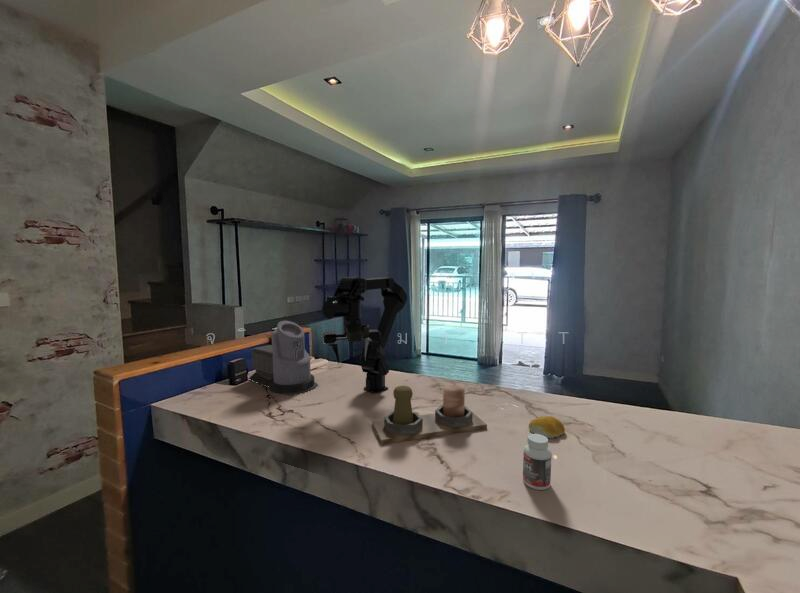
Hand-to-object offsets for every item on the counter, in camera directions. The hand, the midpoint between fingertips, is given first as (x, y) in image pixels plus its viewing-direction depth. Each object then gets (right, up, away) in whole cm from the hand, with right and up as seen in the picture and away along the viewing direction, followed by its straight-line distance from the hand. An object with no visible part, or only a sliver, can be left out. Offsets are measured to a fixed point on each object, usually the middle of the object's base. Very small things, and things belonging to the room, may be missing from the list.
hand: (352, 361), depth 119 cm
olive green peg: (+17, -14, -21) cm, 30 cm away
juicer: (-29, -12, +18) cm, 36 cm away
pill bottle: (+44, -17, -45) cm, 65 cm away
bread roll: (+56, -15, -22) cm, 62 cm away
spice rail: (+24, -15, -19) cm, 34 cm away
